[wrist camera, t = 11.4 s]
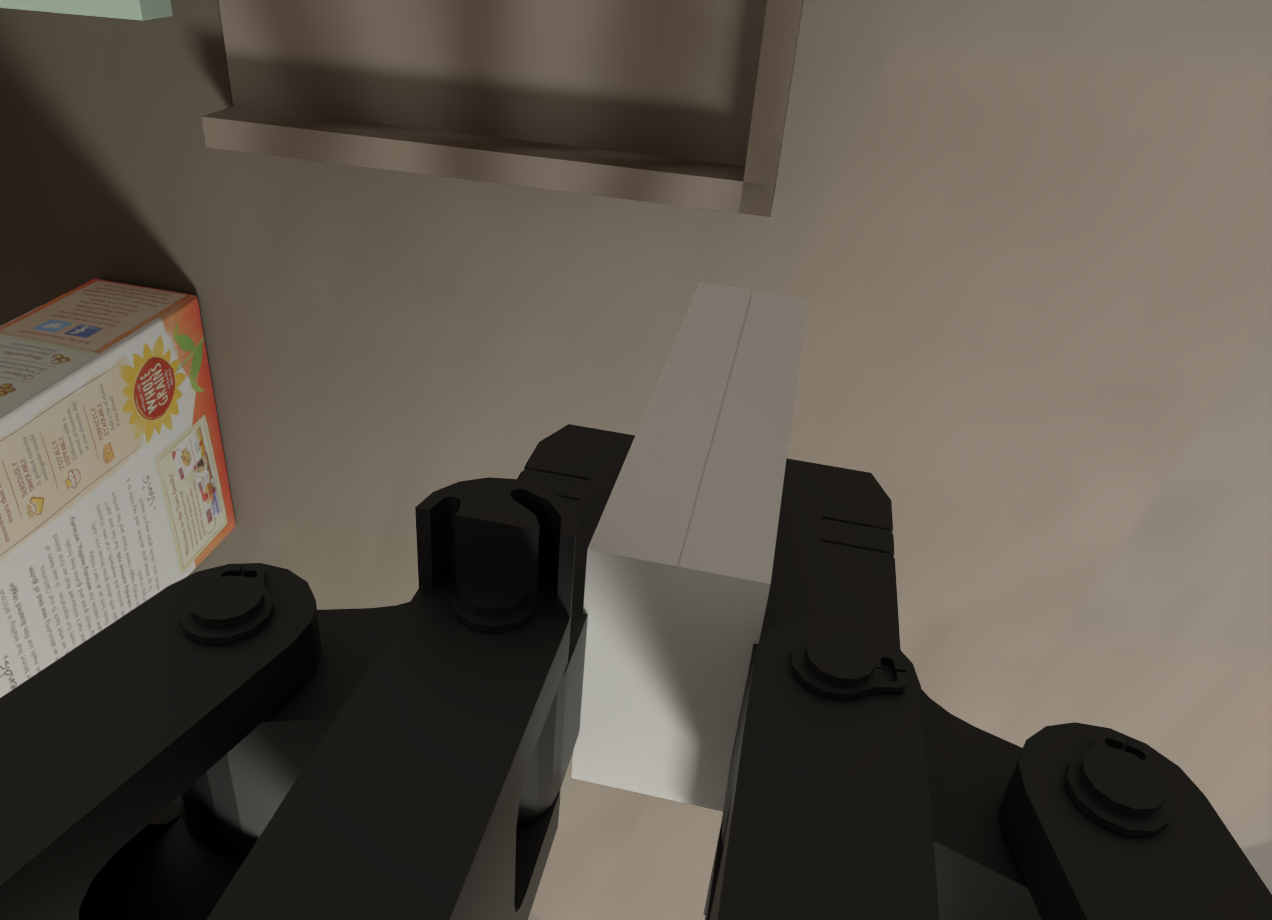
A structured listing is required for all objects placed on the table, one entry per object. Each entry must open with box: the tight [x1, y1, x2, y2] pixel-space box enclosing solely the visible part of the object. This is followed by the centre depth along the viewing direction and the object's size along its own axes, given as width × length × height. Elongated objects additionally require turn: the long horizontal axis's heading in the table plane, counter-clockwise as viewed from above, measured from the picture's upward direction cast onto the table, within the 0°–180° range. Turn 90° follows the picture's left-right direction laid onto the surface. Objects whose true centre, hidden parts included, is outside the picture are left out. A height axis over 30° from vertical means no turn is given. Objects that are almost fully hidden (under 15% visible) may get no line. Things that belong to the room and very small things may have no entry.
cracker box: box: [0, 278, 235, 698], centre depth 41 cm, size 14×6×21 cm, turn 175°
